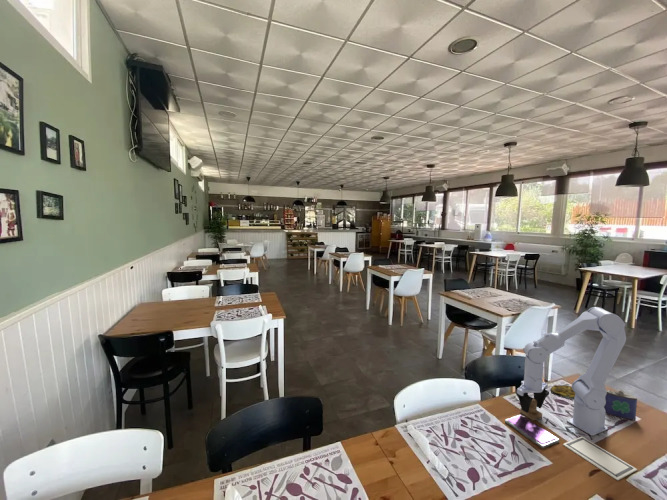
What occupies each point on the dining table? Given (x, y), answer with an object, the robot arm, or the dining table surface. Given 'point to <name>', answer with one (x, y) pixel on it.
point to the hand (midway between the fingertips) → (531, 408)
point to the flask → (620, 405)
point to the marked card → (600, 458)
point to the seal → (563, 391)
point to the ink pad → (532, 431)
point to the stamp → (532, 411)
